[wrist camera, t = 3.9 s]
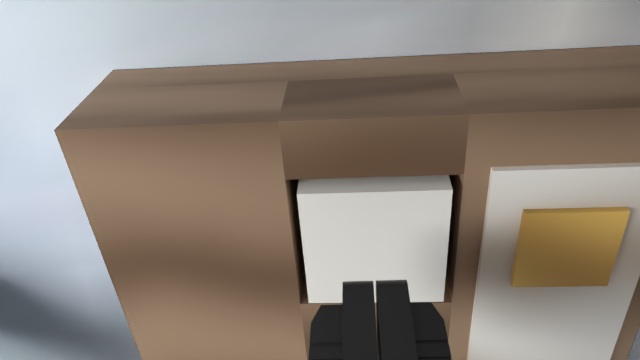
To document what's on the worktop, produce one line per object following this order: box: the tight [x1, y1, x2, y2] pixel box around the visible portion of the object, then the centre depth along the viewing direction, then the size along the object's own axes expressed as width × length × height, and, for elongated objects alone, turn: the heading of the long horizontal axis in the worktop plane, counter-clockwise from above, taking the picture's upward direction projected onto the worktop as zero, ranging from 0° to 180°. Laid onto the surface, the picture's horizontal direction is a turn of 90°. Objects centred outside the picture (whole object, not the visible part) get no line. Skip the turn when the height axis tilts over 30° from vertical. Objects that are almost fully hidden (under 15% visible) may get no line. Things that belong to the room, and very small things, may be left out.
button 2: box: [297, 175, 453, 303], centre depth 16 cm, size 4×4×2 cm
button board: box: [54, 46, 640, 360], centre depth 20 cm, size 22×16×4 cm
